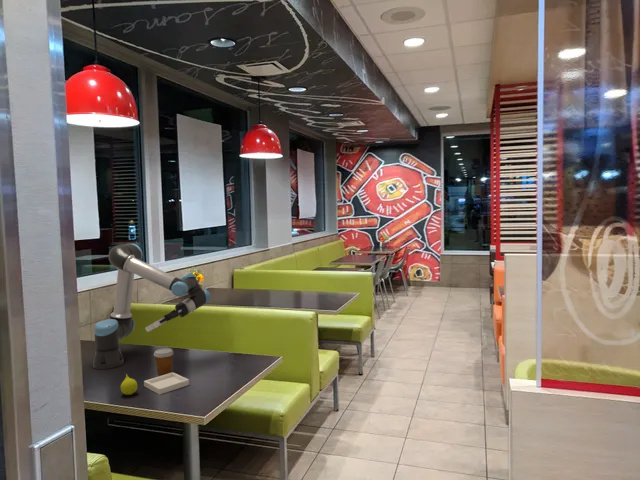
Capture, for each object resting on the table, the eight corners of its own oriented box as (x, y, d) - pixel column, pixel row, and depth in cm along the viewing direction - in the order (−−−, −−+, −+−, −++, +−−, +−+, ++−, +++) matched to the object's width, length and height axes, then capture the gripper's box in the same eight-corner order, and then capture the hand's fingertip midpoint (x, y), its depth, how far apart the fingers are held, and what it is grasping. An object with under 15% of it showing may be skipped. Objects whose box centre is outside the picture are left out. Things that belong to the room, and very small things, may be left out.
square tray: (144, 386, 219) (143, 381, 218) (173, 377, 229) (172, 372, 229) (159, 394, 208) (159, 389, 208) (189, 384, 219) (189, 379, 219)
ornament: (126, 391, 213) (124, 369, 213) (140, 391, 213) (139, 370, 212) (117, 397, 206) (116, 375, 205) (132, 397, 205) (131, 375, 205)
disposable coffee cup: (168, 377, 229) (167, 354, 228) (150, 376, 231) (149, 353, 230) (178, 371, 238) (177, 348, 237) (161, 370, 240) (160, 347, 239)
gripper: (196, 309, 241) (160, 330, 228) (180, 317, 260) (146, 337, 247) (189, 297, 241) (153, 317, 228) (174, 306, 260) (139, 325, 247)
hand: (149, 328), depth 237 cm, fingers open, 13 cm apart
